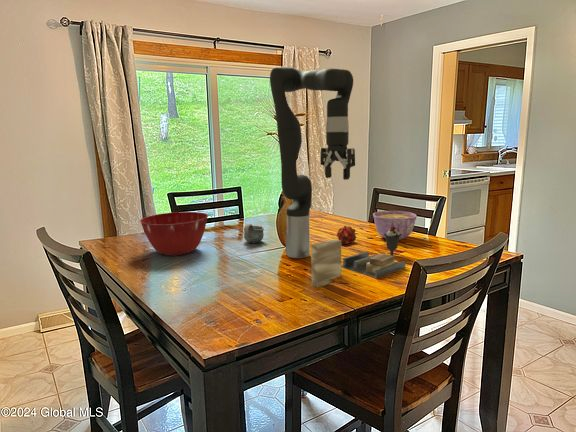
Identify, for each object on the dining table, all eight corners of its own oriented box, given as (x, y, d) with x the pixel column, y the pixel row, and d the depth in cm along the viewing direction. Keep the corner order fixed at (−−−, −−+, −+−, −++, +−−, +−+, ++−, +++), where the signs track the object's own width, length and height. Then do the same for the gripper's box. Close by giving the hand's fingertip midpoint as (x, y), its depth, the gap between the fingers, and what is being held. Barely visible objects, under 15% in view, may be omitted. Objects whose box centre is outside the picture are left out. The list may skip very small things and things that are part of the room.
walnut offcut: (369, 263, 146) (369, 258, 146) (381, 258, 152) (381, 253, 151) (382, 266, 143) (382, 261, 142) (393, 261, 148) (394, 255, 148)
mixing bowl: (128, 256, 177) (124, 220, 174) (175, 240, 202) (172, 209, 199) (179, 264, 164) (176, 226, 161) (222, 247, 189) (221, 213, 186)
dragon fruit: (349, 243, 198) (346, 253, 187) (335, 232, 198) (330, 242, 187) (360, 229, 195) (357, 239, 184) (345, 219, 195) (341, 228, 184)
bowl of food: (421, 243, 189) (422, 218, 187) (376, 244, 189) (377, 219, 187) (409, 233, 208) (410, 210, 206) (369, 233, 209) (369, 211, 207)
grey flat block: (366, 271, 148) (366, 263, 147) (384, 265, 154) (384, 257, 153) (379, 275, 143) (380, 267, 142) (397, 269, 149) (398, 261, 149)
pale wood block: (311, 285, 139) (311, 244, 136) (334, 277, 146) (334, 238, 143) (317, 287, 137) (317, 246, 134) (341, 280, 144) (341, 240, 141)
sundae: (388, 262, 162) (389, 224, 159) (380, 257, 169) (381, 221, 166) (403, 260, 164) (404, 223, 161) (394, 256, 170) (396, 220, 167)
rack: (339, 270, 154) (339, 258, 153) (368, 261, 163) (368, 250, 163) (376, 282, 141) (376, 269, 140) (405, 272, 150) (405, 260, 150)
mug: (266, 240, 200) (266, 219, 198) (259, 246, 188) (259, 225, 186) (247, 239, 202) (246, 219, 200) (239, 246, 190) (238, 224, 188)
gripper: (314, 131, 145) (315, 178, 148) (345, 130, 134) (344, 181, 137) (330, 131, 149) (330, 176, 153) (360, 130, 139) (360, 179, 142)
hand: (337, 178), depth 145 cm, fingers open, 8 cm apart
